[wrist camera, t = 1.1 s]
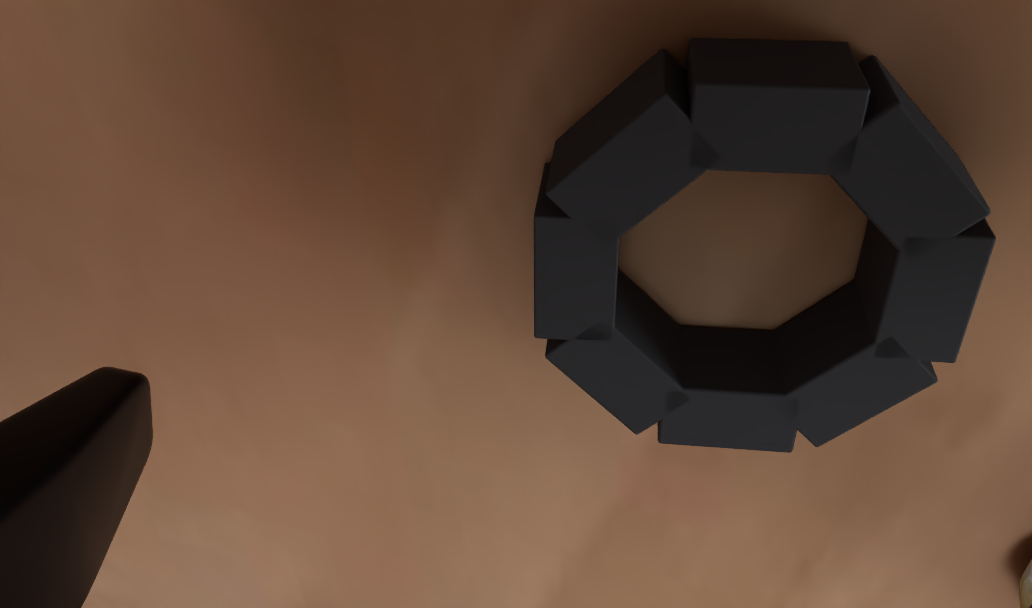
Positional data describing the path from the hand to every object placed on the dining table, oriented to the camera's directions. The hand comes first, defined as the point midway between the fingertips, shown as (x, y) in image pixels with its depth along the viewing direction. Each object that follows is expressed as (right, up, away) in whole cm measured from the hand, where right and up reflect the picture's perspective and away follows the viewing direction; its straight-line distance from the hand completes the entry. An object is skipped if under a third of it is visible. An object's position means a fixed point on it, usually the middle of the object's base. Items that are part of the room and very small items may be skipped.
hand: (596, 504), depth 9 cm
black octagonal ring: (+4, +4, +13) cm, 14 cm away
